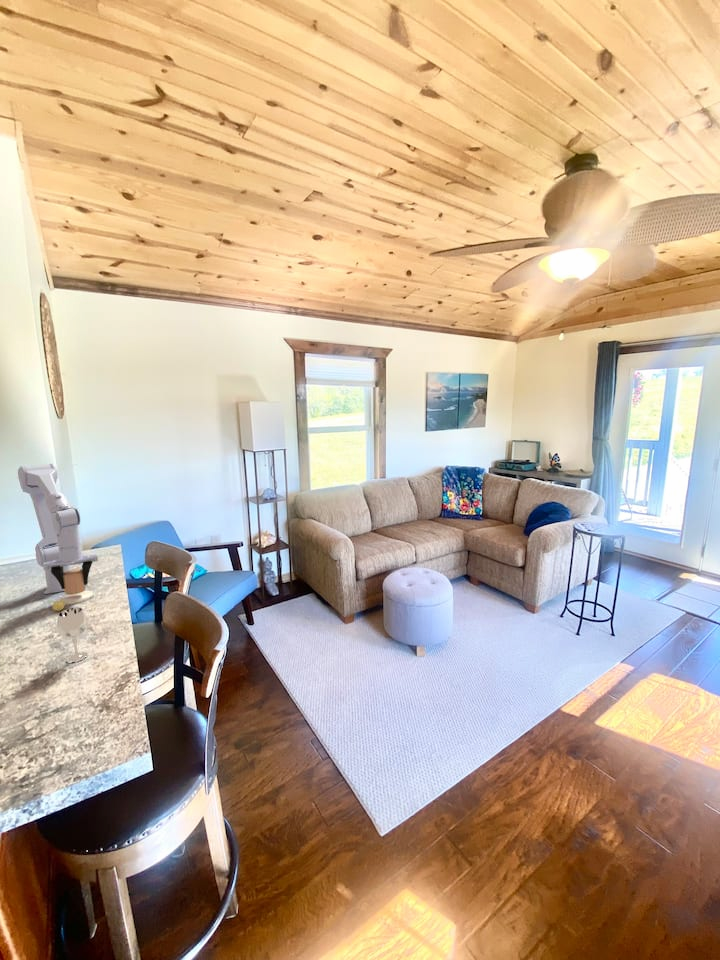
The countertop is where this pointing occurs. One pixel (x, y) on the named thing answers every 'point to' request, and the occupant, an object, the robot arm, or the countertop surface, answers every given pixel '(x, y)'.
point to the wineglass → (72, 628)
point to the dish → (77, 597)
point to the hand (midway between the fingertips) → (75, 585)
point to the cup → (74, 581)
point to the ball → (58, 605)
